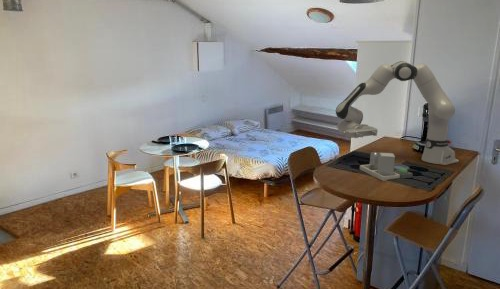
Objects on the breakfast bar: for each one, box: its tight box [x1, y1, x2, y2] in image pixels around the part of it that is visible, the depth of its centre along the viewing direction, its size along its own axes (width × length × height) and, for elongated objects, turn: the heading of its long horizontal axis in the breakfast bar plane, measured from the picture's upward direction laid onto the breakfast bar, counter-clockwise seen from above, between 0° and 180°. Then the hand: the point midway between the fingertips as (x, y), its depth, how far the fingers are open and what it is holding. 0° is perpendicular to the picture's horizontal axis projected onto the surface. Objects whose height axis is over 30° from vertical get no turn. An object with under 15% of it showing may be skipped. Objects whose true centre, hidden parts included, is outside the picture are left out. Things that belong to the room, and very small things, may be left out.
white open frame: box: [359, 163, 401, 182], centre depth 218 cm, size 21×11×2 cm, turn 20°
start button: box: [399, 168, 408, 174], centre depth 213 cm, size 4×4×4 cm
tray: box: [394, 163, 410, 171], centre depth 227 cm, size 8×8×2 cm
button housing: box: [394, 170, 414, 180], centre depth 213 cm, size 7×7×3 cm
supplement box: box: [378, 152, 396, 176], centre depth 212 cm, size 7×7×13 cm
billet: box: [368, 151, 381, 170], centre depth 222 cm, size 5×5×11 cm
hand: (369, 135), depth 230 cm, fingers open, 8 cm apart
